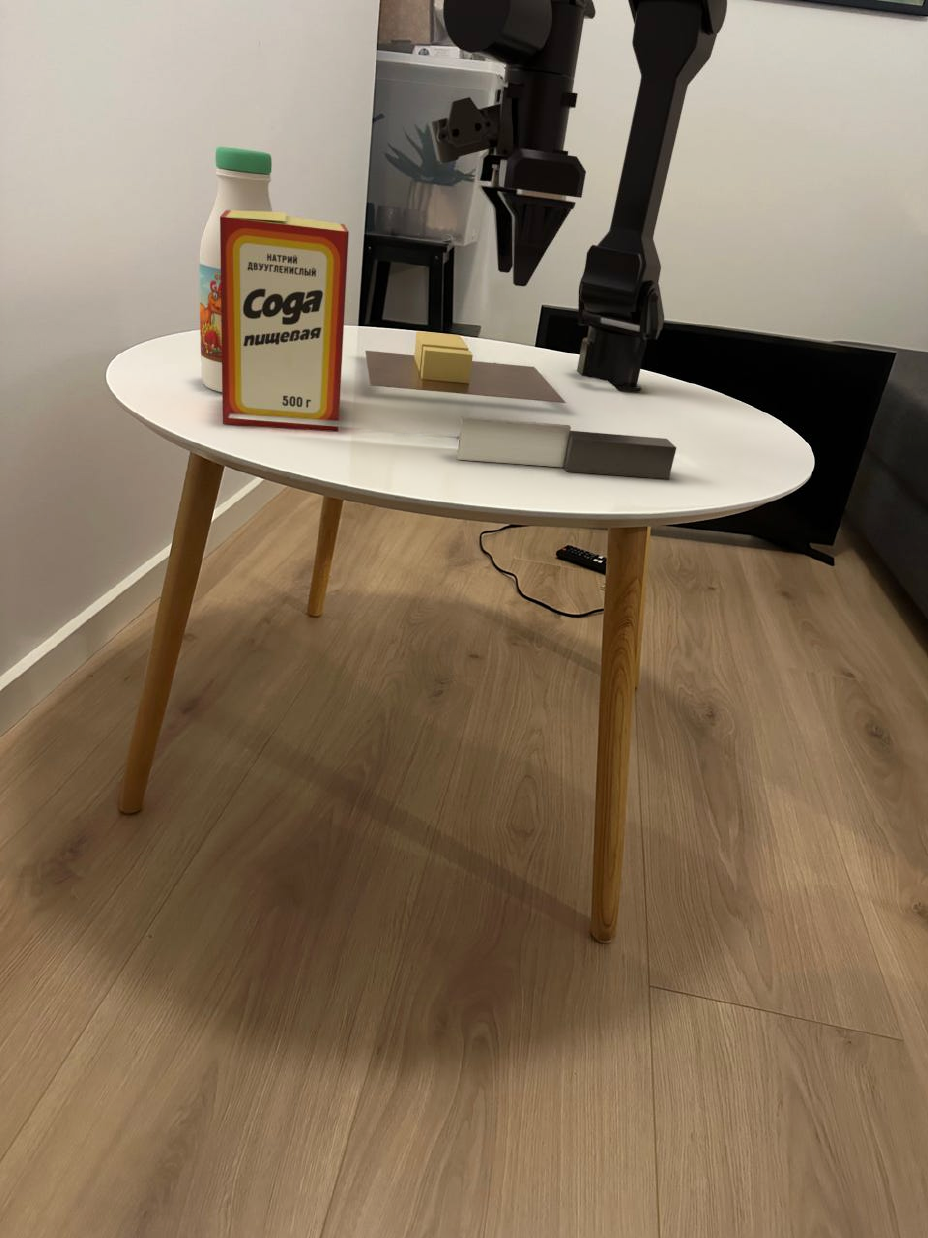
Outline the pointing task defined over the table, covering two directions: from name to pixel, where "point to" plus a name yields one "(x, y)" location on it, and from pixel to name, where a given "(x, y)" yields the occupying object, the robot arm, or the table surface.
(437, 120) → the robot arm
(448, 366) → the butter slice
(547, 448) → the knife
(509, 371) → the board
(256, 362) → the baking soda box
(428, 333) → the butter
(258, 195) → the milk bottle
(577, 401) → the table surface
